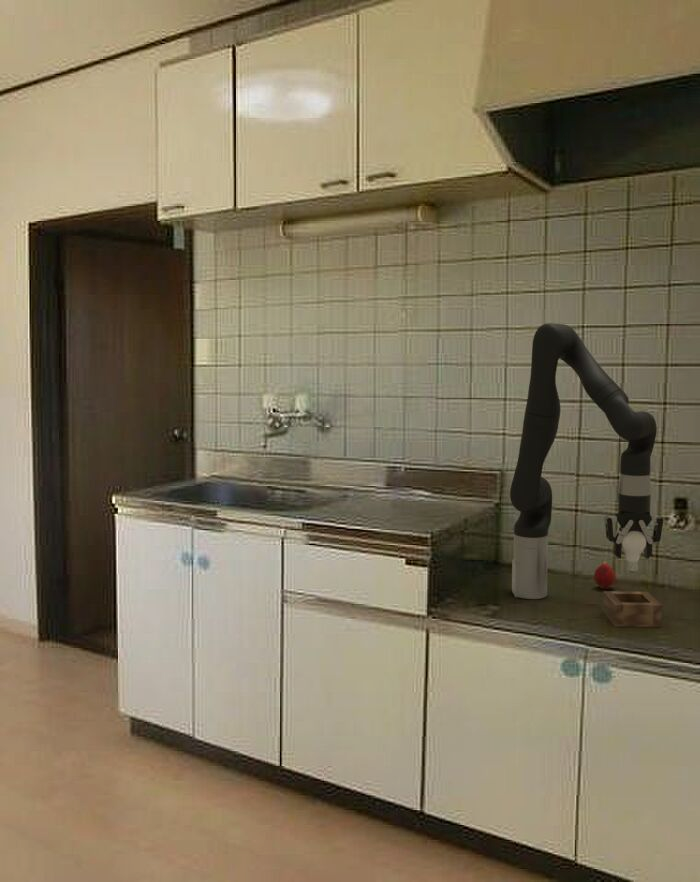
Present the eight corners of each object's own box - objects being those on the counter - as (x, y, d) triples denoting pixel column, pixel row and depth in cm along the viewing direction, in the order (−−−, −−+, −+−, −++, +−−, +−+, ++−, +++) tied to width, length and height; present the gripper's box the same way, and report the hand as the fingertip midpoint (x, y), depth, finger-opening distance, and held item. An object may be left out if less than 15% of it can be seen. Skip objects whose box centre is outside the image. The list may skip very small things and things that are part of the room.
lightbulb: (645, 576, 193) (646, 532, 192) (618, 574, 196) (619, 531, 194) (645, 569, 199) (646, 527, 198) (619, 567, 201) (620, 525, 200)
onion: (611, 593, 220) (611, 565, 220) (590, 590, 224) (591, 562, 223) (618, 588, 225) (618, 561, 224) (598, 585, 228) (598, 558, 228)
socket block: (614, 626, 193) (615, 604, 193) (602, 611, 204) (603, 591, 204) (661, 627, 193) (661, 605, 192) (646, 612, 204) (647, 591, 203)
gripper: (609, 494, 192) (607, 561, 194) (669, 494, 191) (667, 562, 193) (601, 489, 199) (599, 554, 201) (659, 489, 199) (657, 554, 200)
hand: (632, 557), depth 197 cm, fingers closed on lightbulb, 6 cm apart
